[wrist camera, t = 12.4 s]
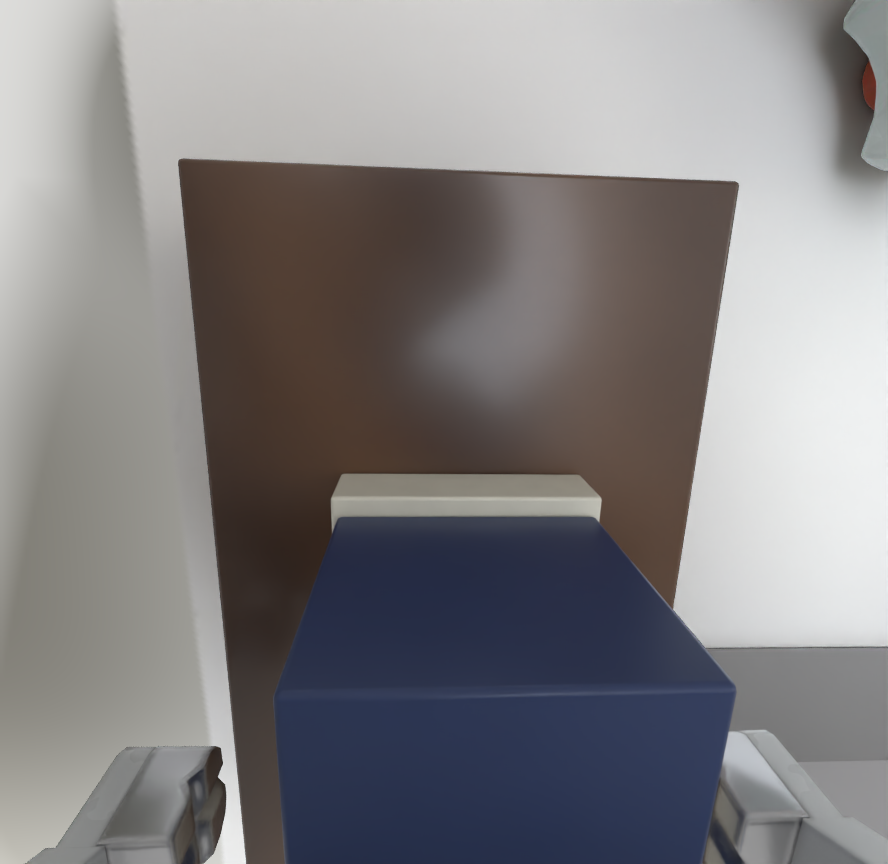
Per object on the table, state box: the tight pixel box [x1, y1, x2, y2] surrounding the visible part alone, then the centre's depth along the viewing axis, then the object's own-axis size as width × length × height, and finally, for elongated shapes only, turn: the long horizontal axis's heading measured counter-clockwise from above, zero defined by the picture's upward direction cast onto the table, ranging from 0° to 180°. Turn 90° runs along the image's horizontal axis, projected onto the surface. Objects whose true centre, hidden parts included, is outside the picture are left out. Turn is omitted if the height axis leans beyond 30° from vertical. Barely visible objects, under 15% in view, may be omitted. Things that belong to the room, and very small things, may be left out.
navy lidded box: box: [273, 474, 737, 864], centre depth 8 cm, size 10×4×5 cm, turn 179°
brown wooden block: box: [178, 158, 739, 864], centre depth 14 cm, size 9×20×8 cm, turn 179°
